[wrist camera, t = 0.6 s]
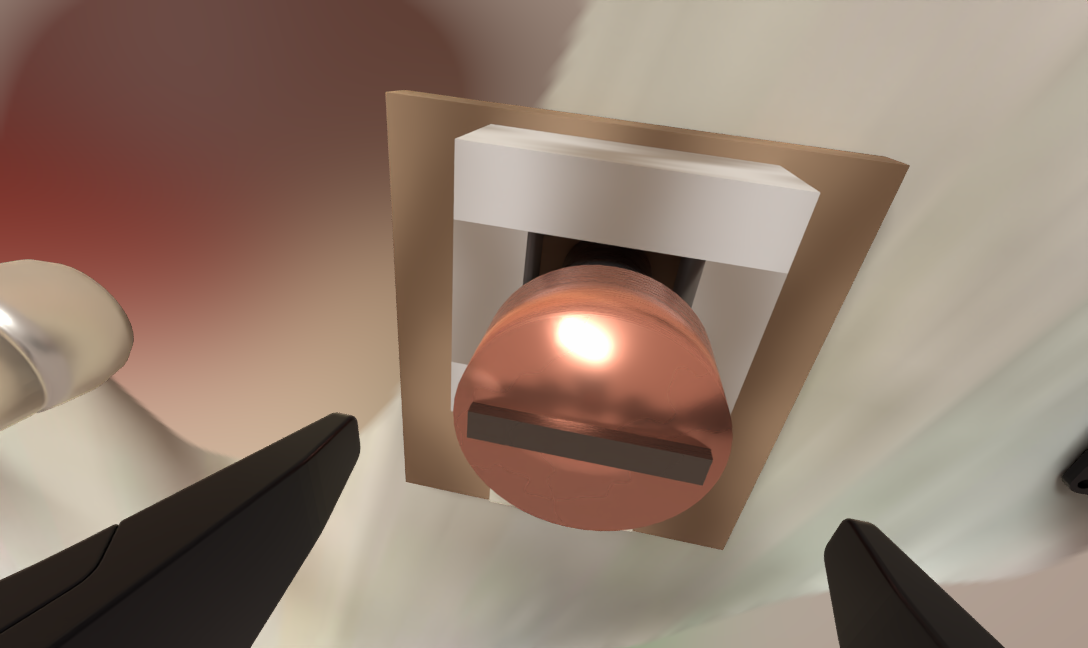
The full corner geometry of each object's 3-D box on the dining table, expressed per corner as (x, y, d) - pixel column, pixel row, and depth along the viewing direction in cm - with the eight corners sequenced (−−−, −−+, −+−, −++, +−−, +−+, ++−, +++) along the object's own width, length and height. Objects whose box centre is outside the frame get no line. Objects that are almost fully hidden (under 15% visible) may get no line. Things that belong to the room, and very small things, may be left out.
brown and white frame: (885, 156, 15) (989, 193, 11) (717, 523, 24) (737, 625, 19) (405, 89, 16) (322, 98, 12) (417, 460, 25) (373, 541, 21)
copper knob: (707, 211, 15) (782, 356, 8) (665, 355, 18) (689, 565, 10) (537, 185, 16) (449, 297, 8) (522, 329, 18) (447, 512, 11)
